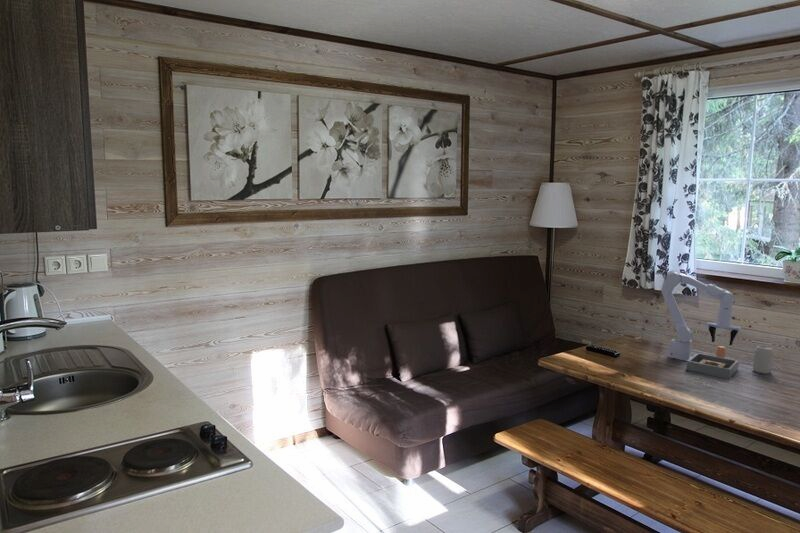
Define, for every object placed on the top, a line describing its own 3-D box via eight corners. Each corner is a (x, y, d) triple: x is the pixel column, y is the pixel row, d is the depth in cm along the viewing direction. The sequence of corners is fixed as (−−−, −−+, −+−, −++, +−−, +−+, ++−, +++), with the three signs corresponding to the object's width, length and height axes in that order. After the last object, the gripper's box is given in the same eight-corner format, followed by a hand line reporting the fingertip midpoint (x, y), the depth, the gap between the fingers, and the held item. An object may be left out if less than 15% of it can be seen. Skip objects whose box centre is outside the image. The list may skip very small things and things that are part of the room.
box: (686, 370, 278) (687, 360, 277) (696, 361, 291) (697, 352, 291) (729, 379, 266) (730, 369, 266) (737, 369, 280) (738, 360, 279)
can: (766, 369, 281) (768, 345, 279) (774, 374, 274) (777, 349, 272) (749, 368, 282) (752, 344, 280) (757, 374, 275) (760, 348, 273)
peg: (714, 362, 290) (715, 347, 289) (716, 361, 293) (717, 345, 292) (723, 364, 287) (725, 348, 286) (725, 362, 290) (726, 347, 289)
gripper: (706, 315, 288) (703, 342, 290) (739, 320, 279) (736, 348, 281) (709, 312, 293) (707, 339, 296) (743, 317, 284) (740, 345, 286)
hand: (721, 343), depth 289 cm, fingers open, 7 cm apart
